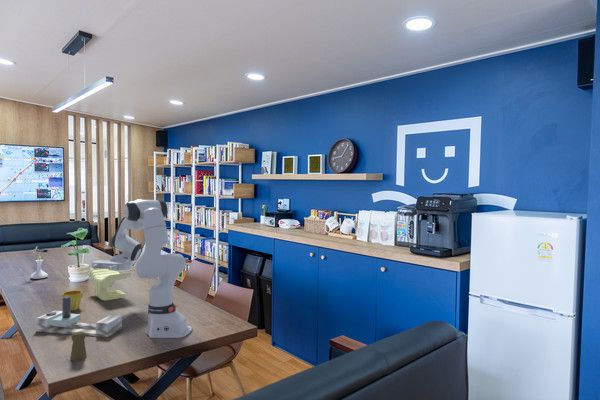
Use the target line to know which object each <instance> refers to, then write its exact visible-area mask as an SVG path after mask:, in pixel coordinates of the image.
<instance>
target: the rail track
mask: <svg viewBox="0 0 600 400" xmlns="http://www.w3.org/2000/svg"><path fill="white" fill-rule="evenodd" d="M61 315H62V310H53V311H50V312H47V313H45V314H43V315H41V316H38V317H36V332H40V333H52V334H53V333H55V334H63V335H65V334H66V335H72V334H73V333H75V332H78V331H83V332H85V334H86V336H90V337H104V338H108V337H110V336H112V335H113V334H115V333H117V332H118V331H120V330H121V329H122V328H123V315H122V314H110V315H108V316H105V317H104V318H102V319H100V320H98V321H97V322H96V323H91V322H90V323H89V322H79V321H78V322H77V323H73V324H72V327H71V328H65V327H56V326H52V319H55V318H57V317H59V316H61Z"/></svg>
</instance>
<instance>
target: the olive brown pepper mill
mask: <svg viewBox="0 0 600 400" xmlns="http://www.w3.org/2000/svg"><path fill="white" fill-rule="evenodd" d="M86 336H87V335H86V334H85V332H83V331H78V332H75V333H73V334H71V340H72V344H71V352H70V361H71V360H72V362H77V361H83V360H85V359H86V358H87V357H88V356H87V350H86V349H87V348H86V344H85V339H86Z"/></svg>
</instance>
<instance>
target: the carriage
mask: <svg viewBox="0 0 600 400" xmlns="http://www.w3.org/2000/svg"><path fill="white" fill-rule="evenodd" d="M61 300H62V305H61V307H62V310H61V311H62V315H61V316H59V317H57V318H55V319H52V326H56V327H65V328H71V327H72V324H73V323H77V322H78V323H79V321H81V319H82V318H81V313H72V312H71V297H63V298H62V297H61Z"/></svg>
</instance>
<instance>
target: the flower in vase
mask: <svg viewBox="0 0 600 400" xmlns="http://www.w3.org/2000/svg"><path fill="white" fill-rule="evenodd" d="M37 250H38V246H36V247H35V248H34V249H33V252H31V254H30V256H34V254H35V253H36V254H37V257H36V259H35V262H36V265H37V266H36V267H37V269H36V271H34V272H33V273H32V274H30V275H29V276H30V278H31V279H33V280H34V279H35V280H36V279H37V280H39V279H44V278H47V277H48V276H49V274H48V273H47V272H45V271H44V270H42V263H43V261H44V259H41V258H42V256H41V254H39V253H38V251H37Z"/></svg>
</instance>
